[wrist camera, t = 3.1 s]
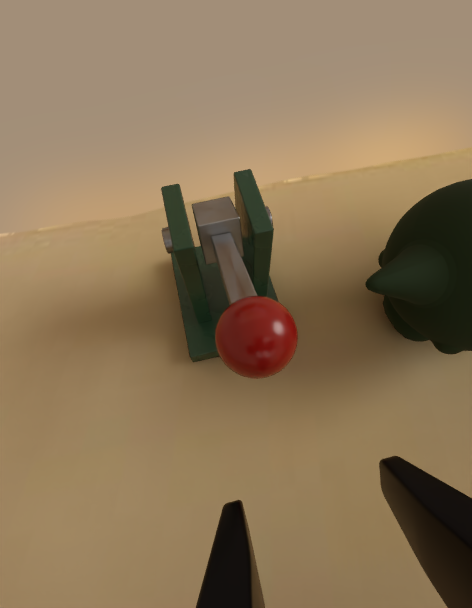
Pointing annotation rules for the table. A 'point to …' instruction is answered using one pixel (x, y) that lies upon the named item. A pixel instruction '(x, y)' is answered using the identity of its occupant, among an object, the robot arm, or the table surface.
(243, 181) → the bracket
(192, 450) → the table surface
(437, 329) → the toy figurine
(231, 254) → the lever
